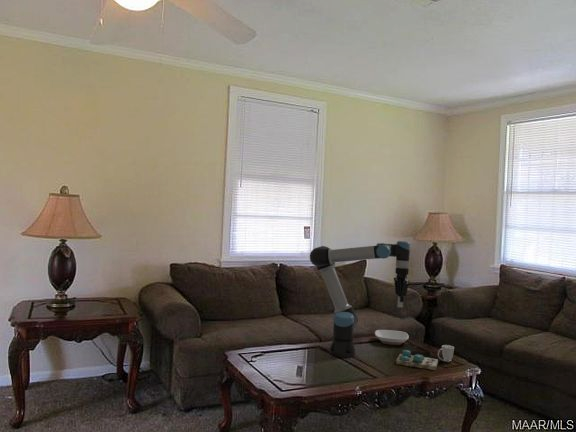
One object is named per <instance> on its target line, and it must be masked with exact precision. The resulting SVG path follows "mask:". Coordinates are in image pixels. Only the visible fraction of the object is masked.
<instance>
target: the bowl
mask: <svg viewBox="0 0 576 432" xmlns="http://www.w3.org/2000/svg"><path fill="white" fill-rule="evenodd" d="M374 335H375V337H376V338H377V339H378V340H379V341H380V342H381V343H382V344H383V345H391V346H401V345H402V344H403V343H405V342H406V341H407V340H409V338H410V337H409V334H408V333H407V332H405V331H400V330H391V329H377V330H375V331H374Z"/></svg>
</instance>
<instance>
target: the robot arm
mask: <svg viewBox="0 0 576 432" xmlns="http://www.w3.org/2000/svg"><path fill="white" fill-rule="evenodd" d="M410 245H411V243H410V242H409V241H406V240H405V241H403V240H401V241H400V240H398V241H397V242H396V243H394V244H393V243H384V242H381V243H379V242H378V243H376V245H368V246H356V247H348V248H337V249H335V248H334V249H331V248H329V246H325V245H321V246H318V247H314V248H313V249H312V250H311V251H310V253H309V261H310V263H311V264H312V265H313V266H315V267H316V269H317V271H318V272H320V274H321V275H322V278H323V280H324V284H325V286H326V288H327V291H328V294H329V297H330V298H331V301H332V303H333V306H334V311H333V314H334V315H333V320H332V321H333V329H332V330H333V332H332V333H333V334H332V342H331V345H330V347H329V354H330V355H331V356H333V357H337V358H341V359H342V358H353V357H355V356H356V354H357V353H356V352H357V351H356V348H355V343H354V331H355V328H356V327H357V325H358V322H359V318H358V317H359V316H358V314H357V313H356V312H355V310H354V308H353V306H352V305H351V304H349V303H348V302H349V301H348V300H347V297H346V294H345V292H344V290H343V287H342V284H341V281H340V279H339V276H338V274H337V271H336V268H335V266H336V263H343V262H354V261H355V262H357V261H364V260H365V261H367V260H376V259H377V260H379V259H382V260H383V259H388V258H389V257H392V258H393V257H395V274H396V276H395V277H393V281H394V282H393V283H394V291H395V295H397V305H396V306H397V307H396V308H403V307H404V297H406V296H407V293H408V290H409V289H408V288H409V284H410V280H408V275H409V271H410V270H409V266H410V253H411V252H410V249H411V247H410Z"/></svg>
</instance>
